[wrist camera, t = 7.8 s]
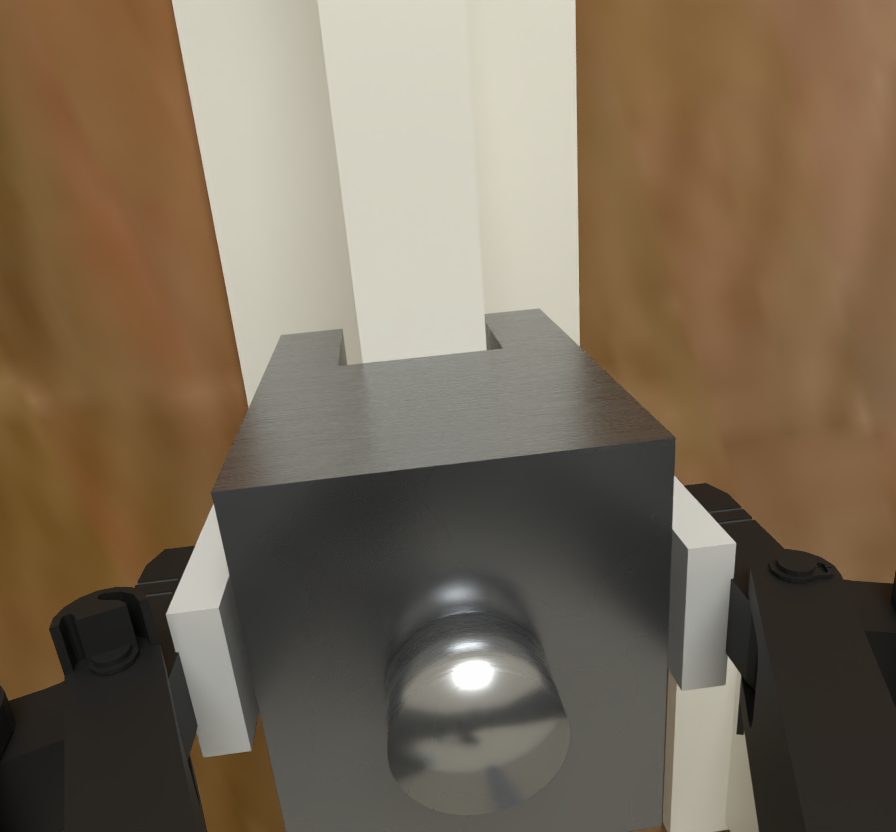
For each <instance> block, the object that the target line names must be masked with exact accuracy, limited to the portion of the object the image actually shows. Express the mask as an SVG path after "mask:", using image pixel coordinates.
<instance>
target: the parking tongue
mask: <svg viewBox="0 0 896 832" xmlns="http://www.w3.org/2000/svg"><path fill="white" fill-rule="evenodd" d="M740 684H741V674H740V672H739V671H738V670H737V668H736V667H735V665H734V664H733V662H732V661H731V660H730V658H729V657H728V660H727V673H726V685H723V686H716V687H708V688H701V689H694V690H687V691H681V689H680V688H679V686H678V684H677V682H676V681H675V679H674V677H673V675H672V674H671V672H670V670H669V669H668V695H667V720H666V746H665V772H664V797H663V824H664V826H665V828H666V831H667V832H715V831H722V830H730V832H759V829H758V822H757V815H756V808H755V801H754V794H753V788H752V781H751V774H750V767H749V760H748V753H747V747H746V740H745V733H744V735H738V734H736V731H737V719H738V707H739V696H740Z"/></svg>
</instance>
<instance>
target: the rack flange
mask: <svg viewBox="0 0 896 832" xmlns="http://www.w3.org/2000/svg"><path fill="white" fill-rule="evenodd" d="M172 4H173V9H174V14H175V20H176V25H177V30H178V36H179V41H180V46H181V52H182V57H183V62H184V68H185V73H186V78H187V83H188V89H189V94H190V99H191V105H192V110H193V115H194V121H195V126H196V131H197V136H198V142H199V147H200V152H201V158H202V163H203V168H204V174H205V179H206V184H207V189H208V195H209V200H210V205H211V211H212V216H213V221H214V227H215V232H216V237H217V242H218V248H219V253H220V258H221V264H222V269H223V274H224V280H225V285H226V290H227V295H228V301H229V306H230V311H231V317H232V322H233V327H234V333H235V338H236V343H237V349H238V354H239V359H240V364H241V370H242V375H243V380H244V386H245V391H246V396H247V402H248V407H249V406H250V404H251V401H252V399H253V397H254V395H255V392H256V390H257V388H258V386H259V383H260V381H261V379H262V377H263V374H264V372H265V370H266V368H267V365H268V363H269V361H270V359H271V356H272V354H273V352H274V350H275V347H276V345H277V343H278V341H279V338H280V336H281V335H287V334H296V333H306V332H316V331H325V330H335V329H343V336H344V344H345V351H346V358H347V365H353V364H362V363H372V362H381V361H390V360H400V359H409V358H418V357H428V356H437V355H447V354H456V353H465V352H475V351H484V350H487V348H486V332H485V315H484V314H490V313H500V312H509V311H519V310H529V309H538V308H540V309H541V310H542V311H543V312H544V313H545V314H546V315H547V316H548V317H549V318H550V319H551V320H552V321H553V322H554V323H555V324H556V325H558V326H559V327H560V328H561V329H562V330H563V331H564V332H565V333H566V334H567V335H568V336H569V337H570V338H571V339H572V340H573V341H574V342H575V343H576V344H578V345H579V346H580V334H579V257H578V179H577V102H576V25H575V0H172Z"/></svg>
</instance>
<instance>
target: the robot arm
mask: <svg viewBox="0 0 896 832" xmlns="http://www.w3.org/2000/svg"><path fill="white" fill-rule="evenodd" d="M49 630H50V633H51V636H52V639H53V642H54V645H55V648H56V651H57V654H58V657H59V660H60V663H61V666H62V669H63V672H64V675H65V681H63V682H61V683H59V684H57V685H54V686H52V687H49V688H47V689H44V690H41V691H38V692H35V693H32V694H29V695H26V696H23V697H20V698H16V699H13V700H10V701H8V699H7V697H6V694H5V691H4V690H3V689H2V687H1V686H0V832H207V829H206V824H205V819H204V814H203V810H202V805H201V800H200V796H199V791H198V786H197V781H196V777H195V773H194V769H193V765H192V761H191V758H190V751H191V748H192V744H193V741H194V737H195V734H196V732H197V736H198V740H199V744H200V747H201V751H202V755H203V757H211V756H218V755H225V754H232V753H240V752H247V751H251V750H252V745H253V740H254V735H255V730H256V724H257V719H258V714H259V707H258V702H257V698H256V693H255V689H254V684H253V680H252V675H251V671H250V666H249V662H248V657H247V653H246V648H245V644H244V639H243V634H242V630H241V625H240V621H239V616H238V612H237V607H236V603H235V598H234V594H233V589H232V585H231V580H230V576H229V571H228V566H227V562H226V557H225V553H224V548H223V544H222V539H221V535H220V530H219V526H218V521H217V517H216V512H215V508H214V504H213V506H212V508H211V511H210V513H209V515H208V518H207V520H206V522H205V525H204V527H203V529H202V532H201V534H200V536H199V539H198V541H197V543H196V546H189V547H181V548H173V549H165V550H164V551H163V552H161V553H160V554H159V555H158V556H157V557H156V558H154V559H153V560H152V561H151V562H150V563H149V564H147V565H146V567H145V569H144V571H143V573H142V575H141V577H140V578H139V580H138V585H136V586H135V588H132V587H114V588H109V589H104V590H99V591H96V592H93V593H91V594H88V595H86V596H83V597H80V598H79V599H77V600H75V601H74V602H72V603H70V604H69V605H67V606H66V607H64V608H63V609H62V610H61V611H60V612H59V613H58V614H57V615H56V616H55V617H54V618H53V620H52V623H51V625H50V628H49ZM728 657H729V658H730V660H731V661H732V662H733V664H734V665H735V667H736V668H737V670H738V671H739V672H740V674H741V684H740V696H739V707H738V719H737V731H736V734H738V735H744V733H745V740H746V747H747V753H748V760H749V767H750V774H751V781H752V788H753V794H754V801H755V808H756V815H757V822H758V829H759V832H896V572H895V578H894V584H890V583H876V582H861V581H850V580H843V578H842V576H841V574H840V573H839V571H838V570H837V569H836V567H835V566H834V565H832V564H831V563H829V562H828V561H826V560H825V559H823V558H821V557H819V556H816V555H813V554H810V553H807V552H803V551H797V550H790V549H784V548H783V547H782V546H781V545H780V544H779V543H778V542H777V541H776V540H775V539H774V538H773V537H772V536H771V535H770V534H769V533H768V532H767V531H766V530H764V529H763V528H762V527H761V526H760V525H759V524H758V523H757V522H756V521H755V520H752V517H751V516H750V515H749V514H748V513H747V512H746V511H745V510H744V509H741V506H740V505H739V504H738V503H737V502H736V501H735V500H734V499H733V498H732V497H731V496H730V495H729V494H728V493H726V492H723V491H721V490H719V489H717V488H715V487H713V486H711V485H709V484H707V483H703V484H695V485H686V486H683V485H682V484H681V483H680V481H679V480H678V479H677V478H676V477H675V476H674V493H673V521H672V549H671V577H670V605H669V633H668V660H667V667H668V668H669V670H670V672H671V674H672V675H673V677H674V679H675V681H676V682H677V684H678V686H679V688H680V689H681V691H687V690H694V689H701V688H708V687H716V686H723V685H726V673H727V660H728Z"/></svg>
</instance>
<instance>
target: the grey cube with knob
mask: <svg viewBox="0 0 896 832" xmlns="http://www.w3.org/2000/svg"><path fill="white" fill-rule="evenodd" d="M484 315H485V332H486V348H487V350H484V351H475V352H465V353H456V354H447V355H437V356H428V357H418V358H409V359H400V360H390V361H381V362H372V363H362V364H353V365H347V358H346V351H345V344H344V336H343V329H335V330H325V331H316V332H306V333H296V334H287V335H281V336H280V338H279V341H278V343H277V345H276V347H275V350H274V352H273V354H272V356H271V359H270V361H269V363H268V365H267V368H266V370H265V372H264V374H263V377H262V379H261V381H260V383H259V386H258V388H257V390H256V392H255V395H254V397H253V399H252V401H251V404H250V406H249V408H248V410H247V413H246V415H245V417H244V419H243V422H242V424H241V426H240V428H239V431H238V433H237V435H236V437H235V440H234V442H233V444H232V446H231V449H230V451H229V453H228V455H227V458H226V460H225V462H224V464H223V467H222V469H221V471H220V473H219V476H218V478H217V480H216V482H215V485H214V487H213V489H212V491H211V494H212V499H213V503H214V508H215V512H216V517H217V521H218V526H219V530H220V535H221V539H222V544H223V548H224V553H225V557H226V562H227V566H228V571H229V576H230V580H231V585H232V589H233V594H234V598H235V603H236V607H237V612H238V616H239V621H240V625H241V630H242V634H243V639H244V644H245V648H246V653H247V657H248V662H249V666H250V671H251V675H252V680H253V684H254V689H255V693H256V698H257V702H258V707H259V712H260V716H261V721H262V725H263V730H264V734H265V739H266V743H267V748H268V752H269V757H270V761H271V766H272V770H273V775H274V779H275V784H276V789H277V793H278V798H279V802H280V807H281V811H282V816H283V820H284V825H285V829H286V832H627V831H633V830H640V829H646V828H652V827H659V826H662V800H663V772H664V744H665V716H666V688H667V660H668V633H669V605H670V577H671V549H672V521H673V493H674V465H675V437H674V436H673V435H672V434H671V433H670V432H669V431H668V430H667V429H666V428H665V427H664V426H663V425H662V424H661V423H660V422H659V421H657V420H656V419H655V418H654V417H653V416H652V415H651V414H650V413H649V412H648V411H647V410H646V409H645V408H644V407H643V406H642V405H641V404H640V403H639V402H637V401H636V400H635V399H634V398H633V397H632V396H631V395H630V394H629V393H628V392H627V391H626V390H625V389H624V388H623V387H622V386H621V385H620V384H619V383H617V382H616V381H615V380H614V379H613V378H612V377H611V376H610V375H609V374H608V373H607V372H606V371H605V370H604V369H603V368H602V367H601V366H600V365H599V364H597V363H596V362H595V361H594V360H593V359H592V358H591V357H590V356H589V355H588V354H587V353H586V352H585V351H584V350H583V349H582V348H581V347H580V346H579V345H578V344H576V343H575V342H574V341H573V340H572V339H571V338H570V337H569V336H568V335H567V334H566V333H565V332H564V331H563V330H562V329H561V328H560V327H559V326H558V325H556V324H555V323H554V322H553V321H552V320H551V319H550V318H549V317H548V316H547V315H546V314H545V313H544V312H543V311H542V310H541V309H540V308H538V309H529V310H519V311H509V312H500V313H490V314H484Z"/></svg>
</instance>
